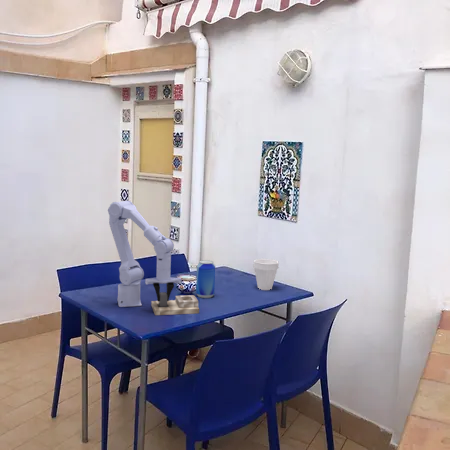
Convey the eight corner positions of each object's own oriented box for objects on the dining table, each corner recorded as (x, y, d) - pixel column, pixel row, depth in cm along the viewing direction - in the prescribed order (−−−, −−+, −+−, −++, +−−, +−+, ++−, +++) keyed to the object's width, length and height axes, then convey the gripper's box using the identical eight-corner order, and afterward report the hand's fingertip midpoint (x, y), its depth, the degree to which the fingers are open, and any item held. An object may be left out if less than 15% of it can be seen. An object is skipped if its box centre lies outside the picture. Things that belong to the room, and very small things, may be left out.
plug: (159, 309, 211) (159, 295, 210) (158, 306, 215) (158, 292, 214) (167, 308, 212) (167, 294, 211) (166, 306, 216) (166, 292, 215)
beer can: (198, 298, 231) (199, 264, 229) (194, 293, 239) (195, 259, 237) (216, 298, 233) (217, 263, 231) (211, 293, 241) (213, 259, 239)
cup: (278, 292, 247) (279, 264, 245) (252, 291, 247) (254, 263, 245) (276, 285, 259) (277, 259, 257) (251, 284, 259) (253, 258, 257)
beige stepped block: (155, 315, 206) (155, 304, 206) (151, 305, 219) (151, 295, 218) (199, 313, 211) (199, 302, 210) (192, 303, 223) (193, 293, 223)
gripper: (146, 271, 205) (146, 304, 207) (182, 270, 209) (182, 302, 211) (145, 267, 212) (144, 299, 214) (179, 266, 216) (179, 297, 218)
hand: (162, 300), depth 213 cm, fingers closed on plug, 3 cm apart
